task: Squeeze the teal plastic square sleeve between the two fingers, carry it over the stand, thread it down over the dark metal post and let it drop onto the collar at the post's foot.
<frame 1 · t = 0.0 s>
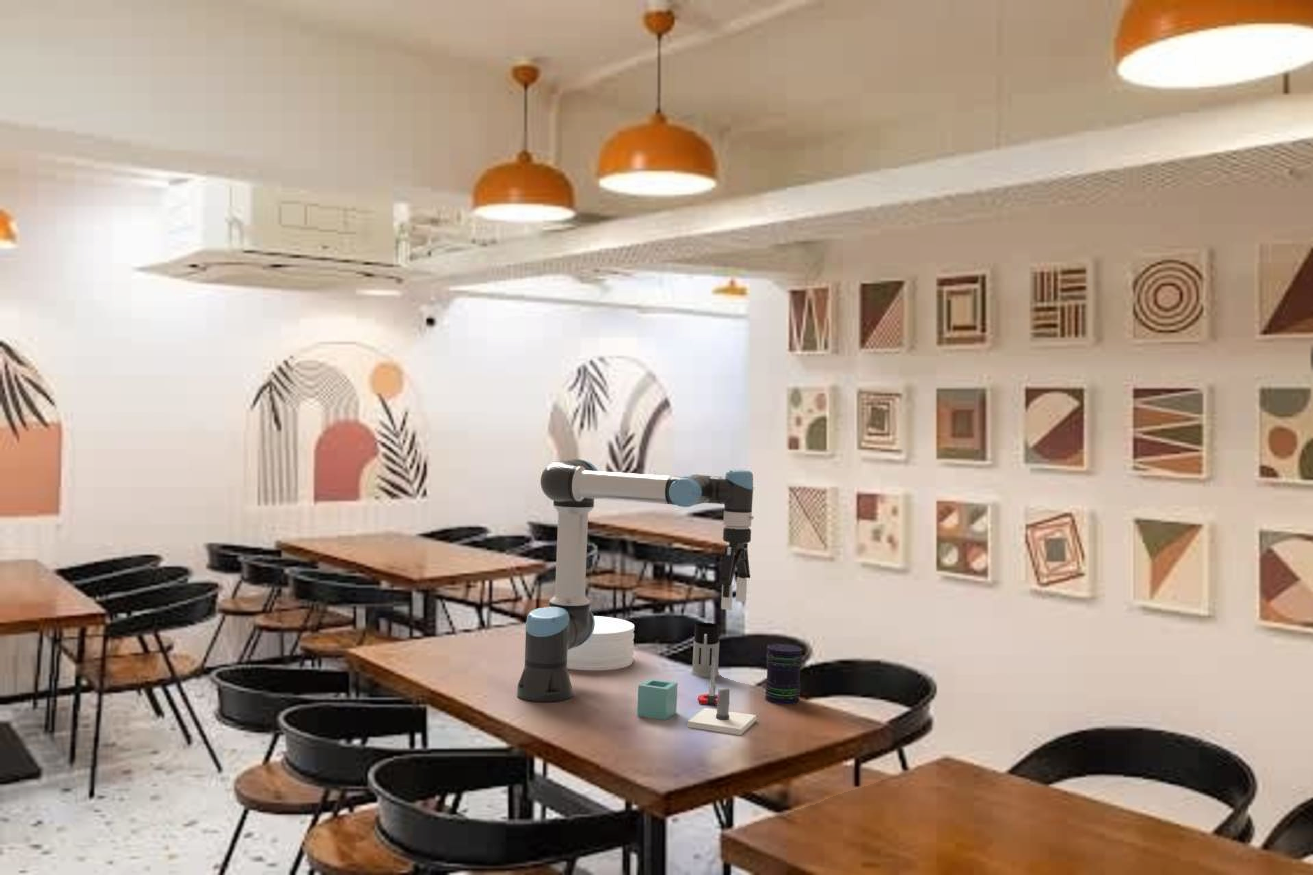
hand: (733, 605, 292), 28 cm above the table, tool pointing down, fingers open, 13 cm apart
plate stack: (588, 660, 343), on the table
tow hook: (712, 702, 300), on the table
post stand: (722, 723, 278), on the table
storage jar: (782, 700, 304), on the table
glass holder: (704, 676, 328), on the table
sleeve: (656, 713, 284), on the table
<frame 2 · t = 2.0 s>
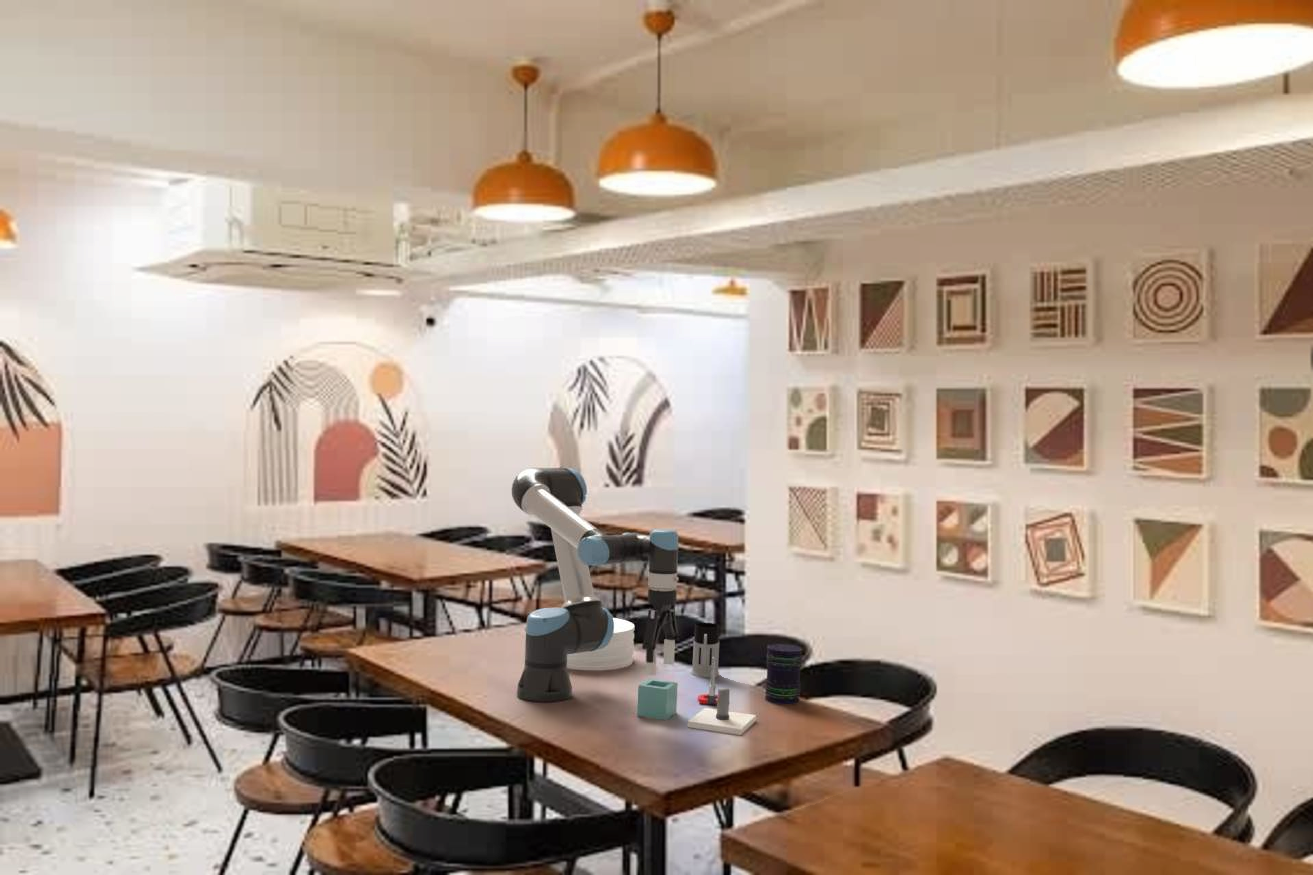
hand: (659, 669, 283), 12 cm above the table, tool pointing down, fingers open, 13 cm apart
nothing on the table moved.
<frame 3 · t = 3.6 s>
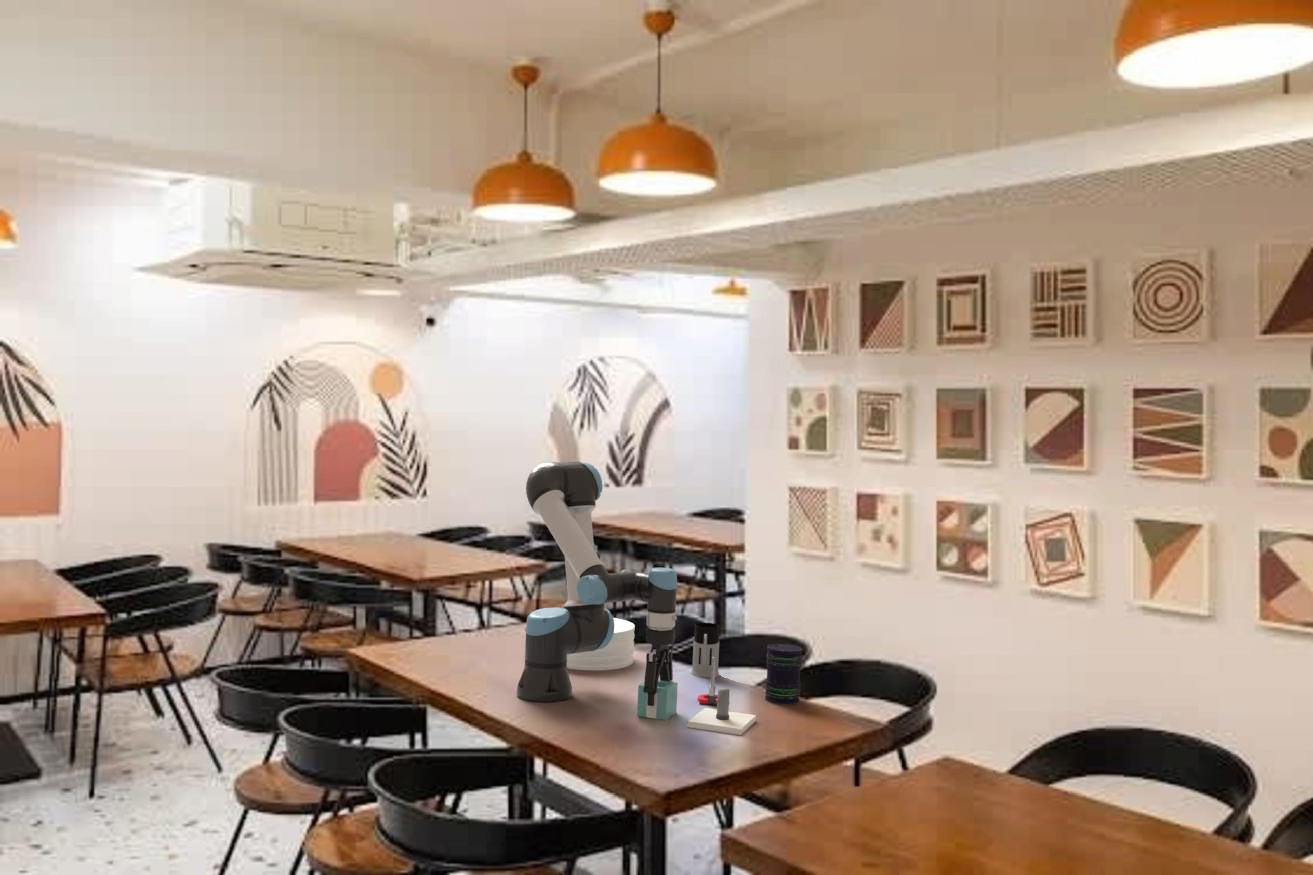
hand: (657, 713, 284), 0 cm above the table, tool pointing down, fingers closed on sleeve, 8 cm apart
sleeve: (656, 714, 284), on the table, touching gripper
everything else where it was.
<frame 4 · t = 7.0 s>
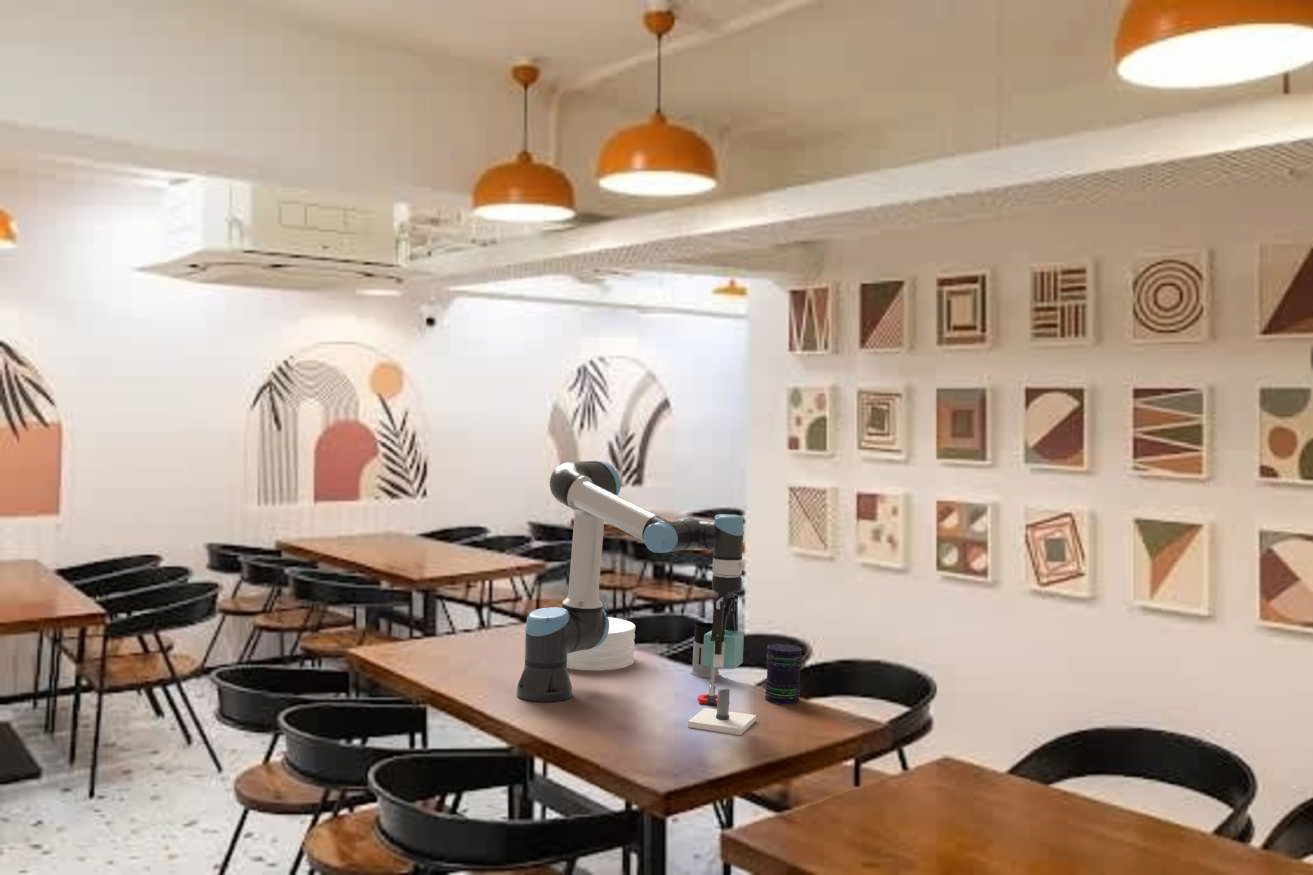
hand: (723, 663, 277), 16 cm above the table, tool pointing down, fingers closed on sleeve, 8 cm apart
sleeve: (723, 663, 277), point 15 cm above the table, touching gripper
everything else where it was.
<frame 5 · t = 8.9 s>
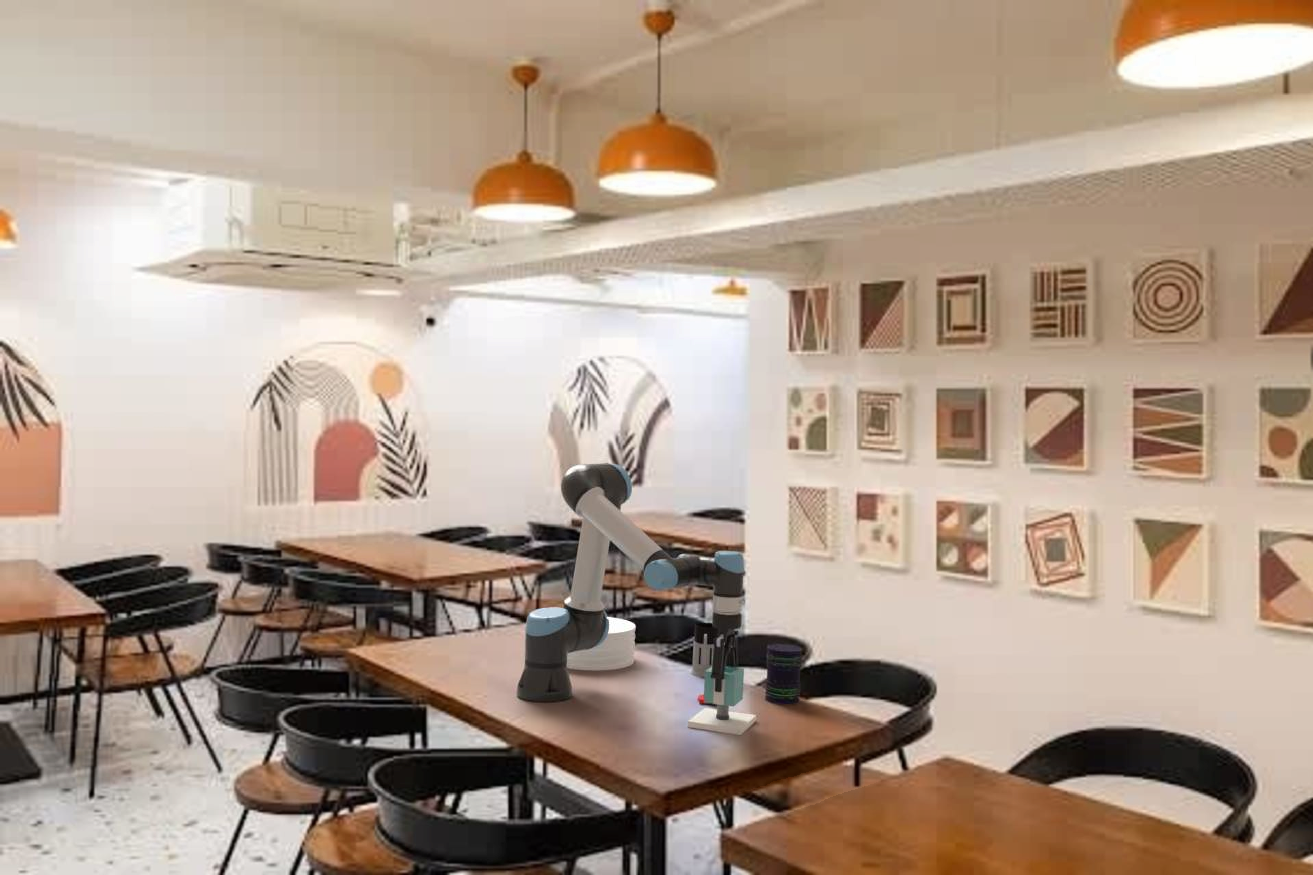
hand: (723, 699, 277), 6 cm above the table, tool pointing down, fingers closed on sleeve, 8 cm apart
sleeve: (723, 700, 277), point 6 cm above the table, touching gripper
everything else where it was.
when the fingers open (3 cm above the table, at t = 10.4 s): sleeve drops 1 cm, resting on post stand.
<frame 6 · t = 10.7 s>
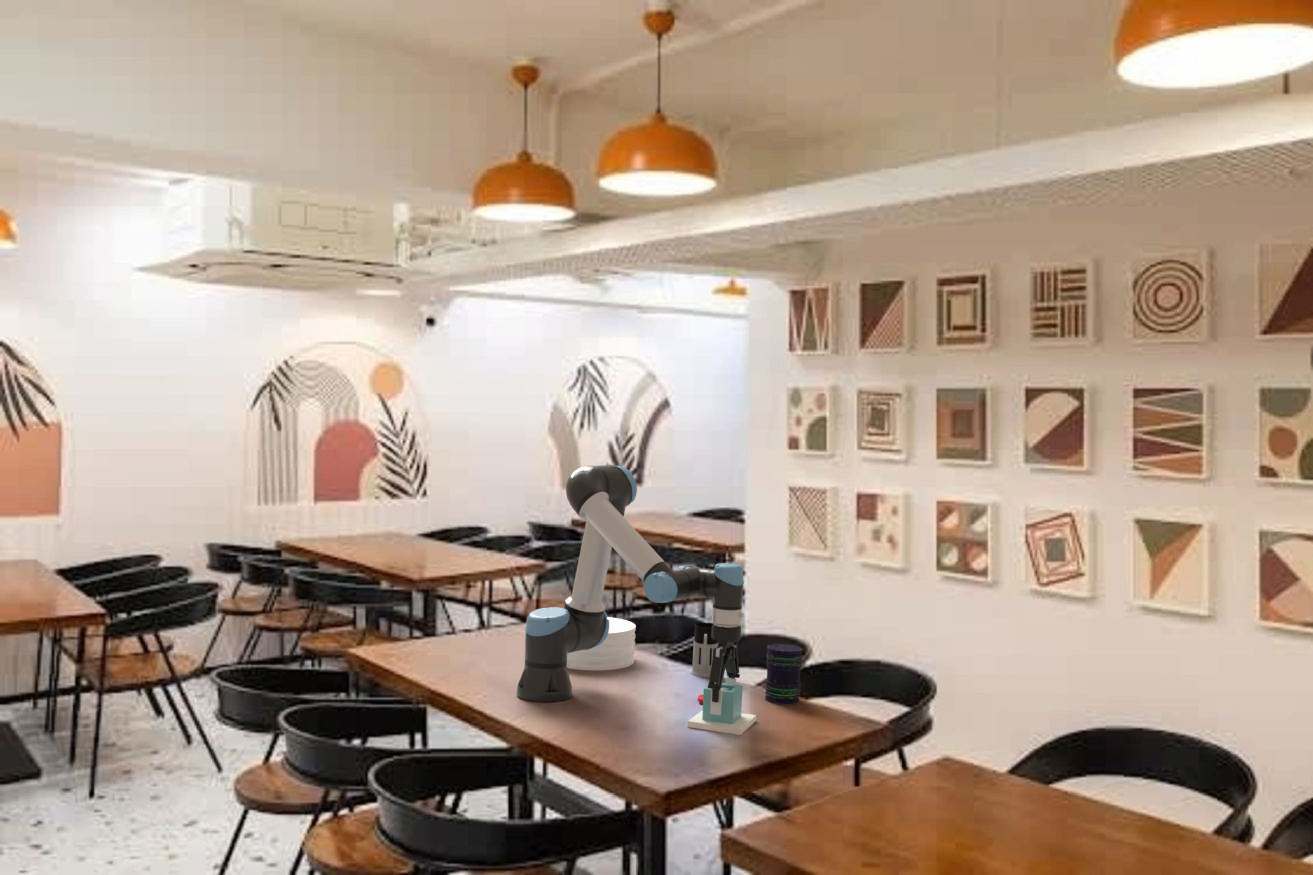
hand: (722, 708, 278), 4 cm above the table, tool pointing down, fingers open, 11 cm apart
sleeve: (721, 717, 278), point 1 cm above the table, touching post stand
everything else where it was.
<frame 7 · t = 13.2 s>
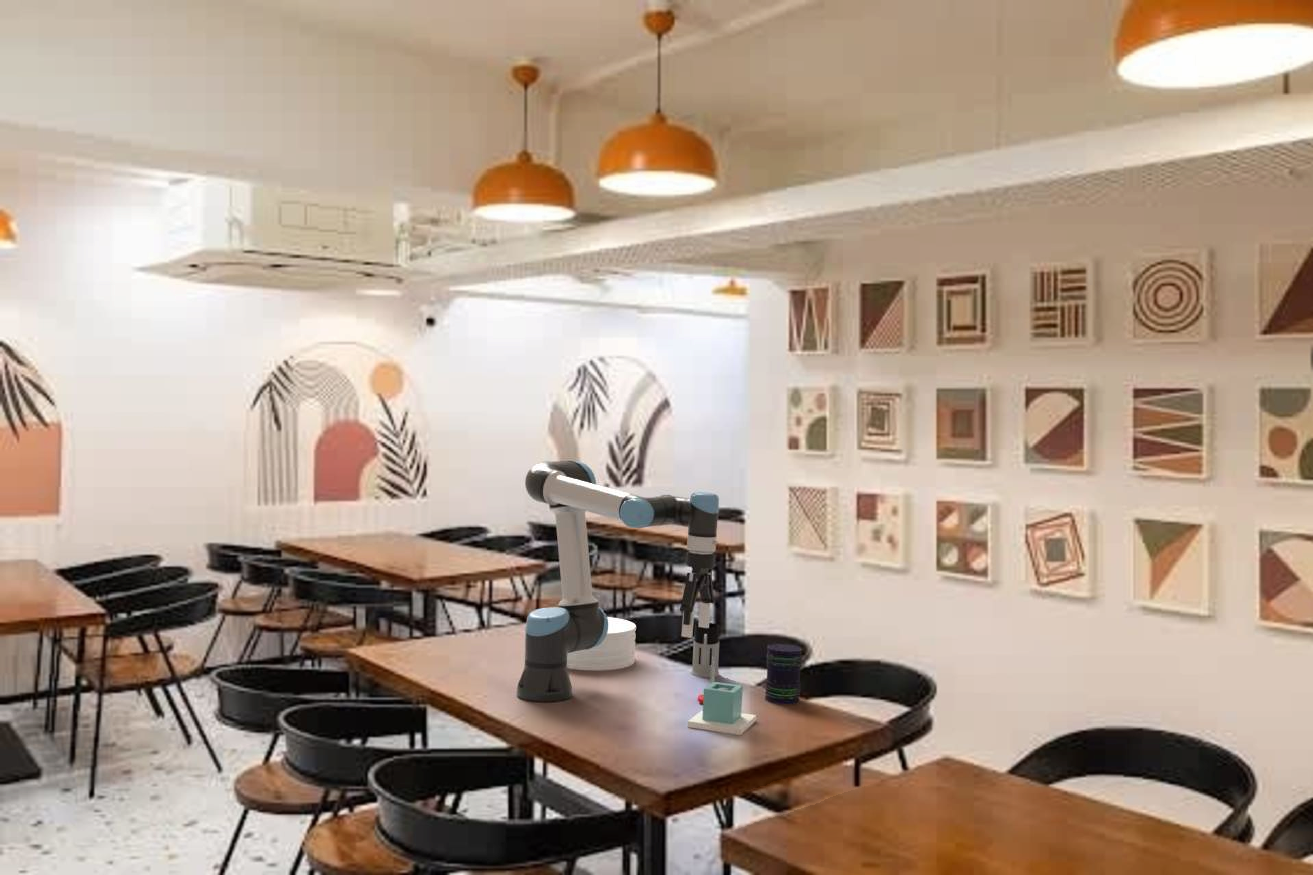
hand: (695, 632, 283), 22 cm above the table, tool pointing down, fingers open, 13 cm apart
nothing on the table moved.
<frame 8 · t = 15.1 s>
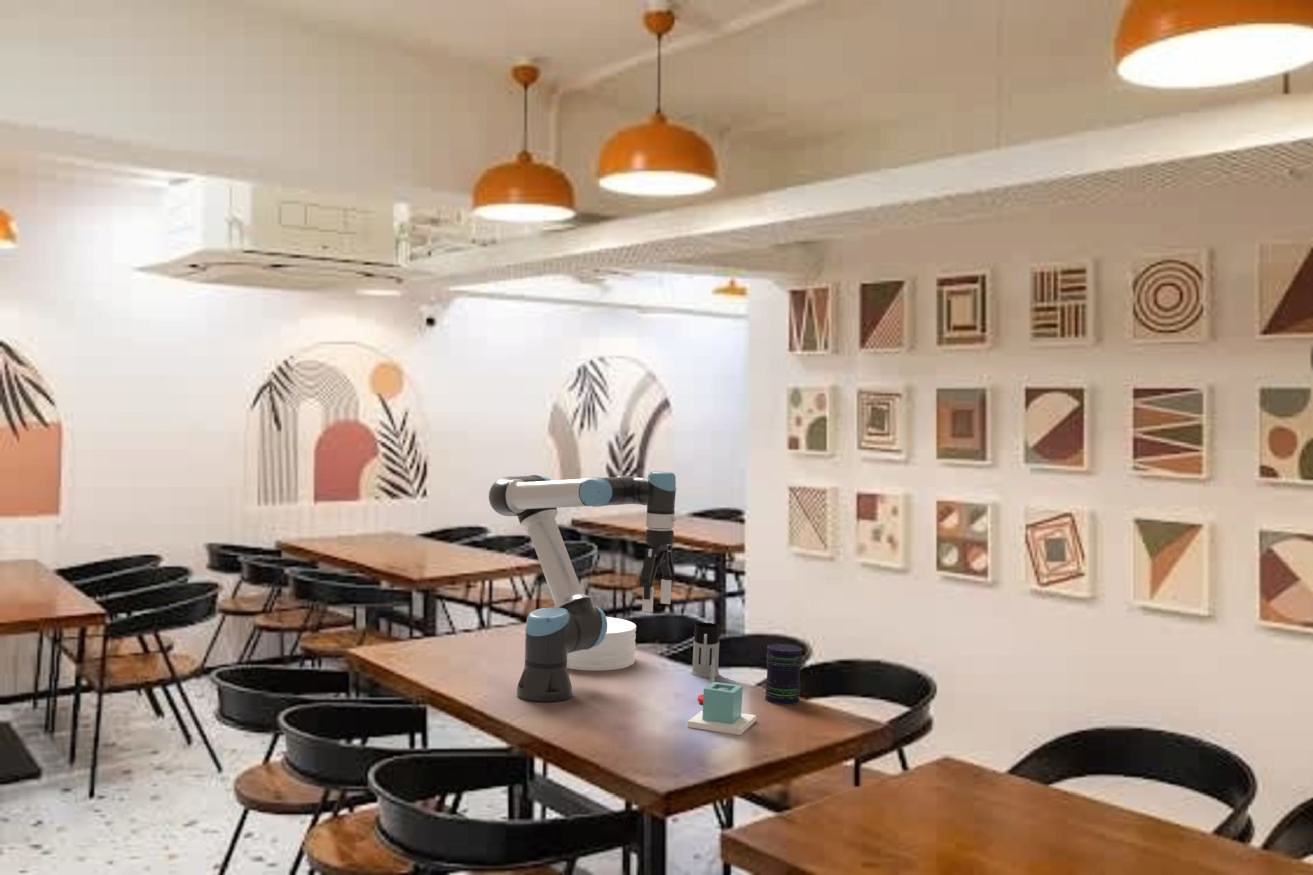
hand: (656, 607, 291), 27 cm above the table, tool pointing down, fingers open, 13 cm apart
nothing on the table moved.
at the end: sleeve 0.1 cm from the post stand (horizontally); sleeve point 1.5 cm above the table; sleeve tilted 0° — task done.
